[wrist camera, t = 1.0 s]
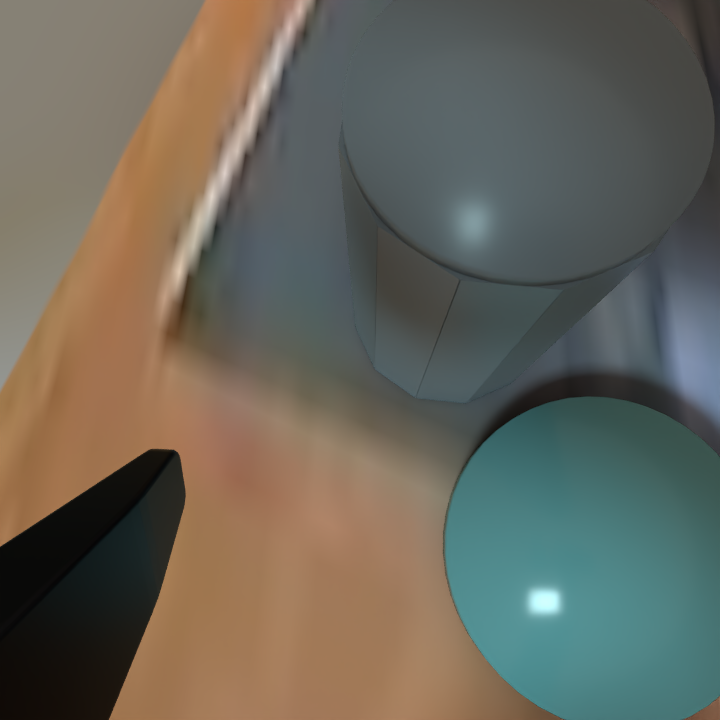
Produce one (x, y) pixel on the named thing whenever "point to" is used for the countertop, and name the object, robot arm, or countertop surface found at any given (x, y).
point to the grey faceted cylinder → (508, 176)
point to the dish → (592, 560)
